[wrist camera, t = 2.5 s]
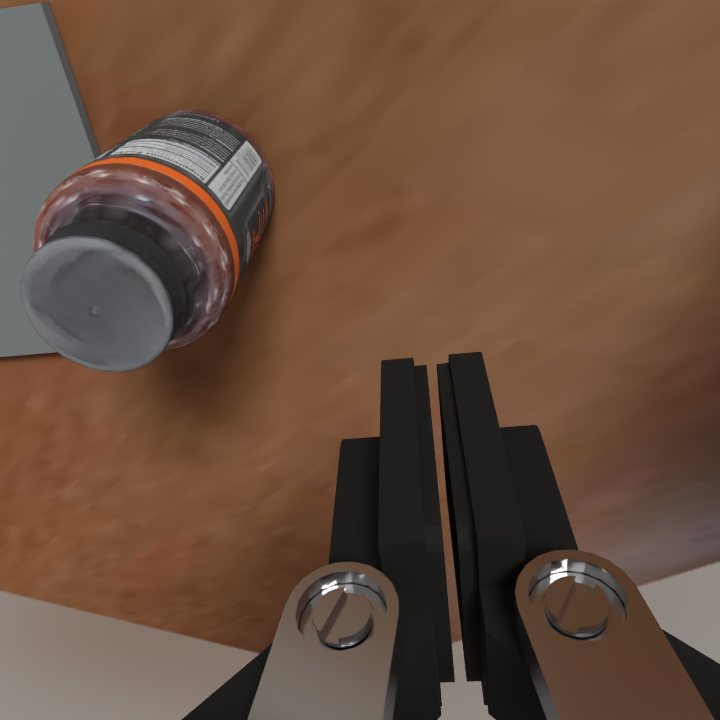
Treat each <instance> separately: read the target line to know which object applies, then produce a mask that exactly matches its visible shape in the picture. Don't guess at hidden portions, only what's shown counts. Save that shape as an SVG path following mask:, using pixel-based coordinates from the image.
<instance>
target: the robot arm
mask: <svg viewBox="0 0 720 720" xmlns="http://www.w3.org/2000/svg"><path fill="white" fill-rule="evenodd" d="M437 376H438V389H439V403H440V416H441V429H442V442H443V456H444V469H445V482H446V494H447V504H448V513H449V522H450V531H451V540H452V550H453V559H454V568H455V577H456V586H457V596H458V605H459V614H460V623H461V632H462V642H463V650H464V659H465V669H466V678H467V681H481V682H482V690H483V698H484V705H488V712H489V714H490V715H491V716H492V717H493V718H495V719H496V720H720V664H719V663H717V662H715V661H714V660H712V659H710V658H709V657H707V656H705V655H704V654H702V653H700V652H699V651H697V650H695V649H694V648H692V647H690V646H689V645H687V644H686V643H684V642H682V641H680V640H679V639H677V638H676V637H674V636H672V635H671V634H669V633H667V632H666V631H664V630H662V629H661V628H660V626H659V624H658V623H657V621H656V619H655V617H654V616H653V614H652V612H651V611H650V609H649V607H648V606H647V604H646V602H645V600H644V599H643V597H642V595H641V594H640V592H639V590H638V588H637V587H636V585H635V584H634V583H633V582H632V580H631V579H630V578H629V577H628V576H627V574H626V573H625V572H624V571H623V570H621V569H620V568H618V567H617V566H616V565H614V564H613V563H612V562H610V561H609V560H606V559H604V558H602V557H600V556H597V555H595V554H593V553H589V552H583V551H579V550H578V547H577V544H576V541H575V538H574V535H573V532H572V529H571V526H570V523H569V520H568V516H567V513H566V510H565V507H564V504H563V501H562V498H561V495H560V492H559V489H558V486H557V482H556V479H555V476H554V473H553V470H552V467H551V464H550V461H549V458H548V455H547V452H546V448H545V445H544V442H543V439H542V436H541V433H540V431H539V428H538V427H537V426H536V425H529V426H516V427H502V428H500V427H499V423H498V419H497V415H496V411H495V407H494V402H493V398H492V394H491V390H490V386H489V381H488V377H487V373H486V369H485V365H484V360H483V356H482V353H481V352H473V353H461V354H450V355H449V363H444V364H437ZM440 682H455V680H454V667H453V655H452V643H451V631H450V619H449V607H448V595H447V583H446V571H445V559H444V548H443V536H442V525H441V514H440V504H439V493H438V483H437V472H436V461H435V451H434V440H433V429H432V419H431V408H430V397H429V387H428V376H427V366H426V365H421V366H414V360H413V358H404V359H393V360H382V361H381V404H380V437H369V438H356V439H343V440H342V442H341V447H340V455H339V465H338V475H337V485H336V495H335V505H334V515H333V525H332V535H331V545H330V555H329V565H327V566H324V567H321V568H318V569H317V570H315V571H314V572H312V573H310V574H309V575H307V576H305V577H304V578H303V579H302V580H301V581H300V582H299V584H298V585H297V586H296V587H295V588H294V589H293V590H292V592H291V594H290V596H289V598H288V600H287V602H286V604H285V607H284V610H283V613H282V616H281V619H280V622H279V625H278V628H277V631H276V635H275V638H274V641H273V643H272V644H271V645H270V646H269V647H267V648H266V649H265V650H264V651H263V652H261V653H260V654H259V655H258V656H257V657H256V658H255V659H253V660H252V661H251V662H250V663H248V664H247V665H246V666H245V667H244V668H243V669H241V670H240V671H239V672H238V673H237V674H235V675H234V676H233V677H232V678H231V679H229V680H228V681H227V682H226V683H225V684H223V685H222V686H221V687H220V688H219V689H218V690H216V691H215V692H214V693H213V694H212V695H210V697H208V698H207V699H206V700H205V701H203V702H202V703H201V704H200V705H199V706H197V707H196V708H195V709H194V710H193V711H191V712H190V713H189V714H188V715H187V716H186V717H184V718H183V719H182V720H437V719H438V718H439V717H440V716H441V706H442V703H441V690H440V689H441V688H440Z"/></svg>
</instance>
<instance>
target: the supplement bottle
mask: <svg viewBox="0 0 720 720" xmlns="http://www.w3.org/2000/svg"><path fill="white" fill-rule="evenodd" d="M273 202H274V183H273V174H272V171H271V169H270V166H269V163H268V160H267V159H266V157H265V155H264V153H263V152H262V150H261V149H260V147H259V146H258V144H257V143H256V142H255V141H254V139H253V138H252V137H251V136H250V135H249V134H248V133H247V132H246V131H245V130H244V129H242V128H241V127H240V126H238V125H237V124H235V123H234V122H232V121H230V120H228V119H226V118H224V117H222V116H220V115H217V114H214V113H211V112H206V111H199V110H185V111H177V112H174V113H171V114H168V115H165V116H163V117H161V118H159V119H156V120H154V121H153V122H151V123H149V124H148V125H146V126H145V127H143V128H142V129H140V130H138V131H137V132H135V133H134V134H132V135H131V136H129V137H128V138H126V139H125V140H123V141H122V142H120V143H118V144H117V145H115V146H114V147H112V148H111V149H109V150H108V151H106V152H104V153H103V154H102V155H100V156H98V157H97V158H96V159H94V160H93V161H91V162H90V163H88V164H86V165H85V166H83V167H82V168H80V169H79V170H77V171H76V172H75V173H73V174H72V175H70V176H69V177H68V178H66V179H65V180H64V181H62V182H61V183H60V184H59V185H58V186H57V187H56V188H55V189H54V190H53V191H52V192H51V194H50V195H49V196H48V197H47V199H46V200H45V202H44V204H43V206H42V207H41V210H40V212H39V214H38V217H37V220H36V223H35V228H34V233H33V251H34V254H33V255H32V256H31V257H30V258H29V260H28V262H27V264H26V266H25V268H24V270H23V272H22V279H21V285H20V294H21V301H22V304H23V306H24V310H25V312H26V314H27V317H28V320H29V321H30V323H31V324H32V326H33V327H34V328H35V330H36V331H37V333H38V334H39V335H40V336H41V338H42V339H43V340H44V341H45V342H46V343H47V344H48V345H49V346H51V347H52V348H53V349H54V350H56V351H57V352H58V353H59V354H61V355H62V356H64V357H65V358H68V359H70V360H71V361H73V362H76V363H78V364H80V365H83V366H85V367H89V368H92V369H95V370H101V371H107V372H125V371H130V370H134V369H137V368H140V367H143V366H145V365H147V364H148V363H150V362H152V361H153V360H154V359H156V358H157V357H158V356H159V355H160V354H161V353H162V352H163V351H165V350H170V349H175V348H179V347H182V346H184V345H186V344H188V343H191V342H193V341H195V340H197V339H199V338H200V337H201V336H203V335H204V334H205V333H207V332H208V331H209V330H210V329H211V328H212V327H213V326H214V325H215V324H216V323H217V322H218V321H219V320H220V318H221V316H222V315H223V313H224V311H225V310H226V308H227V307H228V304H229V302H230V300H231V298H232V296H233V295H234V293H235V291H236V289H237V286H238V284H239V283H240V281H241V279H242V277H243V275H244V273H245V270H246V267H247V266H248V264H249V261H250V259H251V257H252V255H253V253H254V252H255V250H256V247H257V245H258V243H259V241H260V239H261V237H262V236H263V234H264V232H265V229H266V227H267V225H268V223H269V220H270V216H271V212H272V208H273Z"/></svg>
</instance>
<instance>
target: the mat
mask: <svg viewBox="0 0 720 720" xmlns="http://www.w3.org/2000/svg"><path fill="white" fill-rule="evenodd" d="M100 155H101V154H100V151H99V148H98V145H97V142H96V139H95V136H94V133H93V130H92V127H91V125H90V122H89V119H88V116H87V113H86V110H85V107H84V104H83V101H82V98H81V95H80V92H79V89H78V86H77V84H76V81H75V78H74V75H73V72H72V69H71V66H70V63H69V60H68V57H67V54H66V51H65V48H64V46H63V43H62V40H61V37H60V34H59V31H58V28H57V25H56V22H55V19H54V16H53V13H52V10H51V7H50V5H49V2H42V3H35V4H29V5H22V6H16V7H9V8H3V9H0V357H7V356H18V355H30V354H42V353H54V352H57V351H56V350H54V349H53V348H52V347H51V346H49V345H48V344H47V343H46V342H45V341H44V340H43V339H42V338H41V336H40V335H39V334H38V333H37V331H36V330H35V328H34V327H33V326H32V324H31V323H30V321H29V320H28V317H27V314H26V312H25V310H24V306H23V304H22V301H21V294H20V285H21V279H22V272H23V270H24V268H25V266H26V264H27V262H28V260H29V258H30V257H31V256H32V255H33V254H34V251H33V233H34V228H35V223H36V220H37V217H38V214H39V212H40V210H41V207H42V206H43V204H44V202H45V200H46V199H47V197H48V196H49V195H50V194H51V192H52V191H53V190H54V189H55V188H56V187H57V186H58V185H59V184H60V183H61V182H62V181H64V180H65V179H66V178H68V177H69V176H70V175H72V174H73V173H75V172H76V171H77V170H79V169H80V168H82V167H83V166H85V165H86V164H88V163H90V162H91V161H93V160H94V159H96V158H97V157H98V156H100Z"/></svg>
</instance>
